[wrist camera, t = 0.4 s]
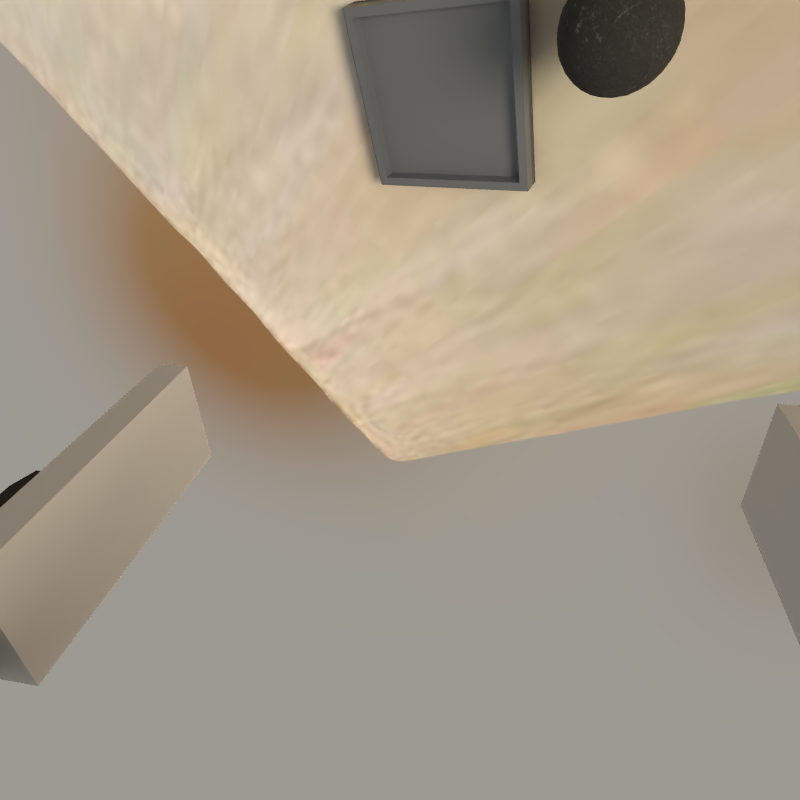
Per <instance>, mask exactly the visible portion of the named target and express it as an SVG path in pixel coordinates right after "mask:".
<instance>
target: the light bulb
mask: <svg viewBox="0 0 800 800" xmlns="http://www.w3.org/2000/svg"><path fill="white" fill-rule="evenodd" d="M684 22H685V2H684V0H567V2H566V4H565V6H564V8H563V11H562V14H561V17H560V21H559V26H558V32H557V47H558V56H559V60H560V62H561V65H562V67H563V69H564V71H565V74H566V75H567V76H568V77H569V79H570V80H571V81H572V83H573V84H574V85H575V86H577V87H578V88H579V89H580V90H582V91H584V92H586V93H588V94H590V95H593V96H597V97H606V98H614V97H620V96H626V95H629V94H631V93H633V92H635V91H638V90H639V89H641V88H643V87H645V86H647V85H648V84H649V83H650V82H652V81H653V80H654V79H655V78H656V77H657V76H658V75H659V74H660V73H662V71H663V70H664V69H665V67H666V66H667V65H668V63H669V62H670V61H671V59H672V57H673V56H674V54H675V53H676V50H677V48H678V45H679V43H680V41H681V36H682V32H683V28H684Z"/></svg>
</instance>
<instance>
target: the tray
mask: <svg viewBox="0 0 800 800" xmlns="http://www.w3.org/2000/svg"><path fill="white" fill-rule="evenodd" d="M343 12H344V17H345V21H346V26H347V30H348V35H349V39H350V44H351V48H352V53H353V57H354V62H355V66H356V71H357V75H358V79H359V84H360V88H361V93H362V97H363V102H364V106H365V111H366V115H367V120H368V124H369V129H370V133H371V138H372V142H373V146H374V151H375V155H376V160H377V164H378V169H379V173H380V178H381V182H382V185H402V186H424V187H446V188H467V189H489V190H510V191H529V189H530V188H531V187H532V185H533V184H534V182H535V164H534V136H533V108H532V81H531V53H530V25H529V0H365V1H357V2H353V3H351V4H349V5H348V6H346V7H344V8H343Z"/></svg>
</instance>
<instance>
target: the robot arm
mask: <svg viewBox="0 0 800 800" xmlns="http://www.w3.org/2000/svg"><path fill="white" fill-rule="evenodd" d="M210 457H211V452H210V449H209V445H208V442H207V438H206V434H205V430H204V427H203V423H202V419H201V415H200V412H199V408H198V404H197V401H196V397H195V393H194V390H193V386H192V382H191V379H190V375H189V372H188V368H187V366H175V365H158V366H157V367H156V368H154V369H153V370H152V371H151V372H150V373H149V374H148V375H147V376H146V377H144V379H142V380H141V381H140V382H139V383H138V384H137V385H136V386H134V387H133V388H132V389H131V390H130V391H129V392H128V393H127V394H126V395H124V397H122V398H121V399H120V400H119V401H118V402H117V403H116V404H115V405H113V406H112V407H111V408H110V409H109V410H108V411H107V412H106V413H105V414H104V415H102V416H101V417H100V418H99V419H98V420H97V421H96V422H95V423H93V424H92V425H91V426H90V427H89V428H88V429H87V430H86V431H85V432H84V433H82V434H81V435H80V436H79V437H78V438H77V439H76V440H75V441H74V442H72V443H71V444H70V445H69V446H68V447H67V448H66V449H65V450H64V451H62V452H61V453H60V454H59V455H58V456H57V457H56V458H55V459H54V460H52V461H51V462H50V463H49V464H48V465H47V466H46V467H45V468H44V469H43V470H41V471H35V472H33V473H31V474H30V475H28V476H26V477H24V478H22V479H21V480H19V481H17V482H16V483H14V484H12V485H10V486H9V487H8V488H7V489H5V491H3V492H2V493H1V494H0V678H1V679H4V680H9V681H15V682H20V683H25V684H30V685H36V686H38V685H39V684H40V682H41V681H42V680H43V679H44V677H45V676H46V675H47V673H48V672H49V671H50V669H51V668H52V667H53V665H54V664H55V663H56V661H57V660H58V659H59V657H60V656H61V655H62V653H63V652H64V651H65V649H66V648H67V647H68V645H69V644H70V643H71V641H72V640H73V639H74V637H75V636H76V635H77V633H78V632H79V631H80V629H81V628H82V627H83V626H84V624H85V623H86V621H87V620H88V619H89V618H90V616H91V615H92V613H93V612H94V611H95V610H96V608H97V607H98V606H99V604H100V603H101V602H102V600H103V599H104V598H105V596H106V595H107V594H108V592H109V591H110V590H111V588H112V587H113V586H114V584H115V583H116V582H117V580H118V579H119V578H120V576H121V575H122V573H123V572H124V571H125V570H126V568H127V567H128V566H129V564H130V563H131V562H132V560H133V559H134V558H135V556H136V555H137V554H138V552H139V551H140V550H141V548H142V547H143V546H144V544H145V543H146V542H147V540H148V539H149V538H150V537H151V535H152V534H153V532H154V531H155V530H156V529H157V527H158V526H159V525H160V523H161V522H162V521H163V519H164V518H165V517H166V515H167V514H168V512H169V511H170V510H171V509H172V507H173V506H174V505H175V503H176V502H177V501H178V499H179V498H180V497H181V495H182V494H183V493H184V491H185V490H186V489H187V487H188V486H189V484H190V483H191V482H192V481H193V479H194V478H195V477H196V475H197V474H198V473H199V471H200V470H201V469H202V467H203V466H204V465H205V463H206V462H207V461H208V459H209V458H210ZM741 507H742V509H743V512H744V514H745V517H746V519H747V521H748V524H749V526H750V528H751V531H752V533H753V535H754V538H755V540H756V543H757V545H758V547H759V550H760V552H761V554H762V557H763V559H764V562H765V564H766V566H767V569H768V571H769V573H770V576H771V578H772V581H773V583H774V585H775V588H776V590H777V592H778V595H779V597H780V599H781V602H782V604H783V607H784V609H785V611H786V614H787V616H788V618H789V621H790V623H791V625H792V628H793V630H794V632H795V635H796V637H797V639H798V642H799V644H800V405H786V404H777V407H776V410H775V413H774V415H773V418H772V421H771V423H770V426H769V429H768V432H767V434H766V437H765V440H764V443H763V446H762V449H761V451H760V454H759V457H758V459H757V462H756V465H755V468H754V470H753V473H752V476H751V479H750V482H749V484H748V487H747V490H746V493H745V495H744V498H743V501H742V503H741Z"/></svg>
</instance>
